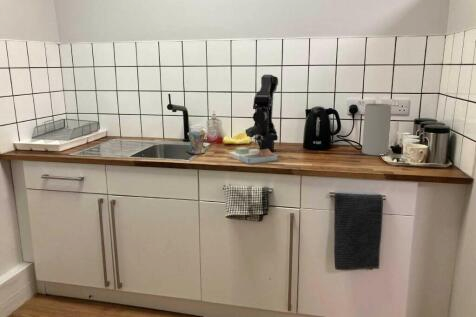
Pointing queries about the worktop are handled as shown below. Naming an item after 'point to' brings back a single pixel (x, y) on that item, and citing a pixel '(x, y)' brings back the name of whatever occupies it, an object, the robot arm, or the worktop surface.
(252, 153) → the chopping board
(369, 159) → the worktop surface
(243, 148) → the sage tile
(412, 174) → the worktop surface
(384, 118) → the cylinder vase
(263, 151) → the terracotta tile
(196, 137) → the mug
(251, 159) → the tray
